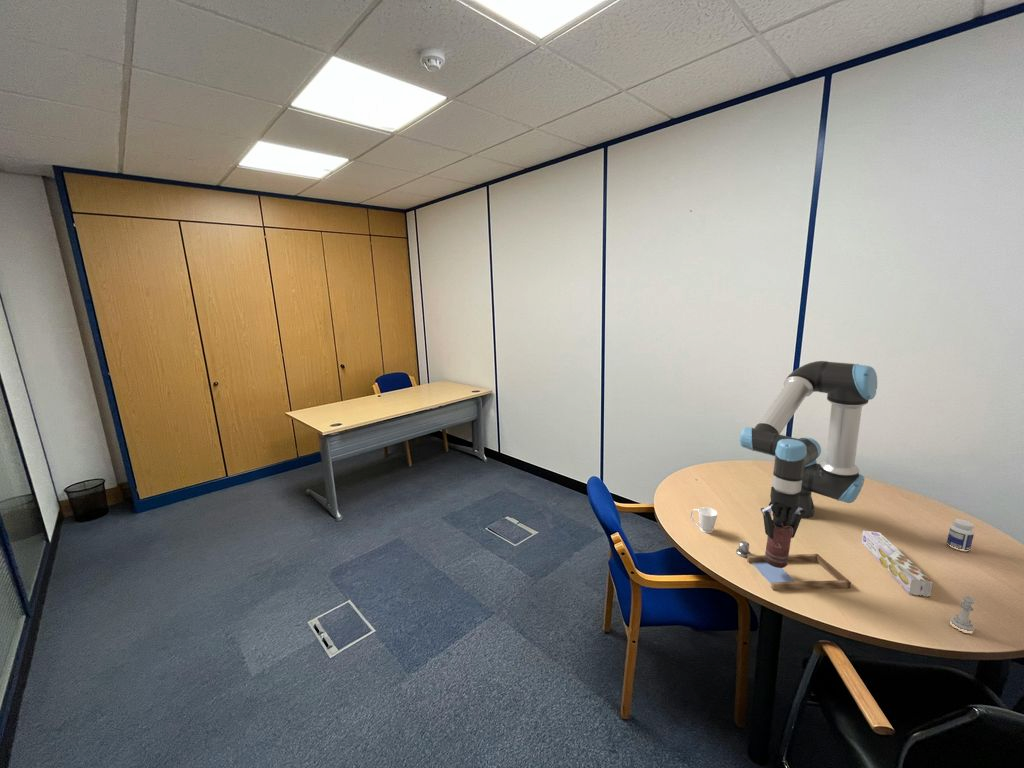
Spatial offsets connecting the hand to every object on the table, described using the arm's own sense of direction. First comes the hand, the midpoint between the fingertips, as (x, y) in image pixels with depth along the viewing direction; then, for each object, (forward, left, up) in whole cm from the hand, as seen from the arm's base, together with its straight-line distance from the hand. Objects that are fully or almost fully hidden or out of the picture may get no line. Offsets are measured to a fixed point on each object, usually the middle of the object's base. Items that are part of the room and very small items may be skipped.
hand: (776, 556), depth 131 cm
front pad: (0, 0, -7) cm, 7 cm away
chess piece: (-36, +23, -7) cm, 43 cm away
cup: (+11, -27, -7) cm, 30 cm away
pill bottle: (-72, -11, -7) cm, 73 cm away
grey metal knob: (+4, -11, -7) cm, 14 cm away
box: (-40, -2, -7) cm, 41 cm away
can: (0, 0, -3) cm, 3 cm away
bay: (-7, 0, -7) cm, 10 cm away
